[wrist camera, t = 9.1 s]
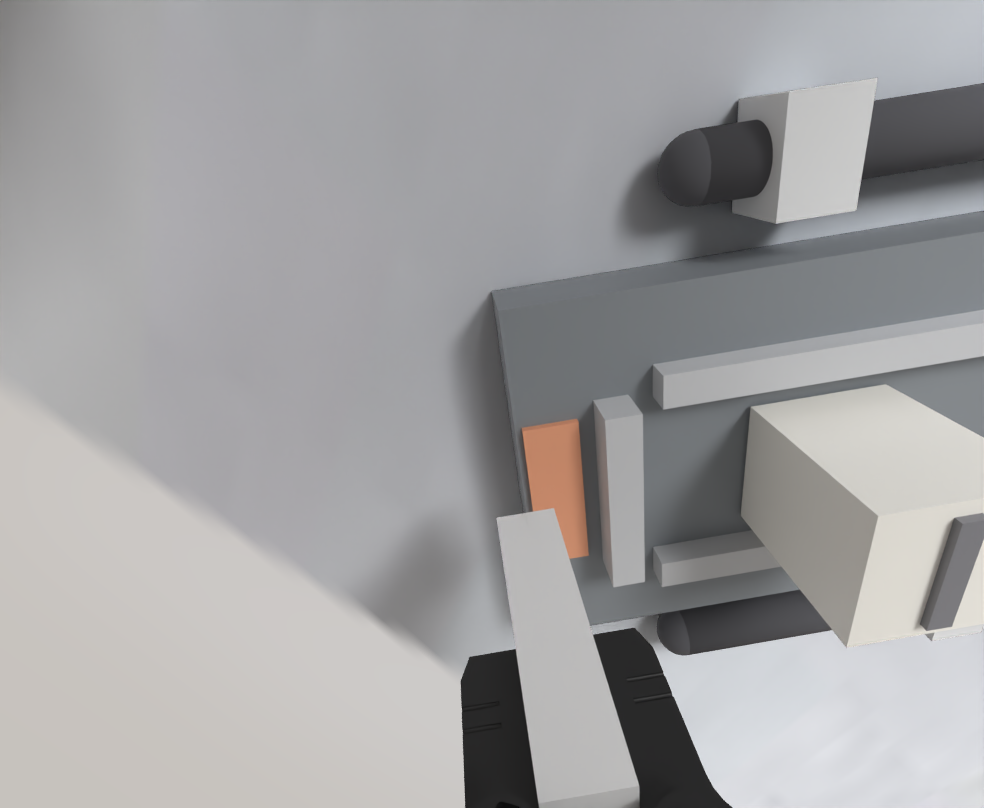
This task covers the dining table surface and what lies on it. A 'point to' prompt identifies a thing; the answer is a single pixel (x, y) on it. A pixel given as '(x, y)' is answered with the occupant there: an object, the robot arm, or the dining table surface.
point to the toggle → (870, 510)
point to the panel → (719, 392)
